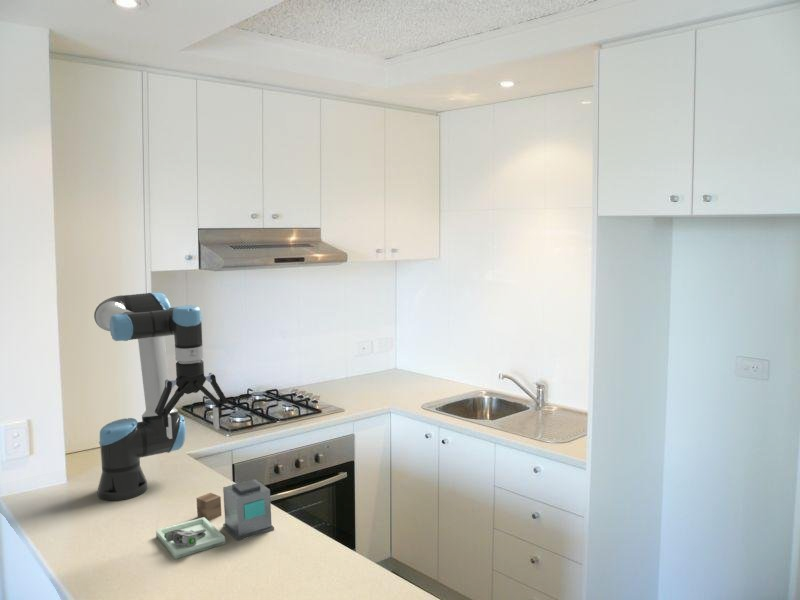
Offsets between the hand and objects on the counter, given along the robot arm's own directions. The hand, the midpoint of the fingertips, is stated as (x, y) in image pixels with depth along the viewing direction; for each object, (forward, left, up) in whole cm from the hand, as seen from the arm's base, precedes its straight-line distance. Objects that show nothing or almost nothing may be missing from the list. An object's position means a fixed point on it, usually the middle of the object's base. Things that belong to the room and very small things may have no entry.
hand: (193, 432), depth 203 cm
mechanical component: (+8, -1, -27) cm, 28 cm away
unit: (+11, +11, -28) cm, 32 cm away
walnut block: (-4, +5, -28) cm, 29 cm away
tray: (+8, -5, -28) cm, 30 cm away
